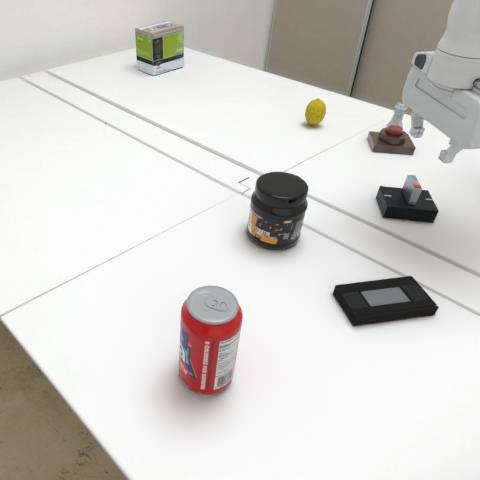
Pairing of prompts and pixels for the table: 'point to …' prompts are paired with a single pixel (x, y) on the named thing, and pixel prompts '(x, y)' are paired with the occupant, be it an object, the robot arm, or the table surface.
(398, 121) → the rook chess piece
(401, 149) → the button block
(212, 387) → the soda can
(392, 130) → the button
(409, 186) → the grey rocker switch
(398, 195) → the plate
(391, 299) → the vhs tape
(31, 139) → the table surface
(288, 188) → the supplement container
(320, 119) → the lemon
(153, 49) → the tea box
